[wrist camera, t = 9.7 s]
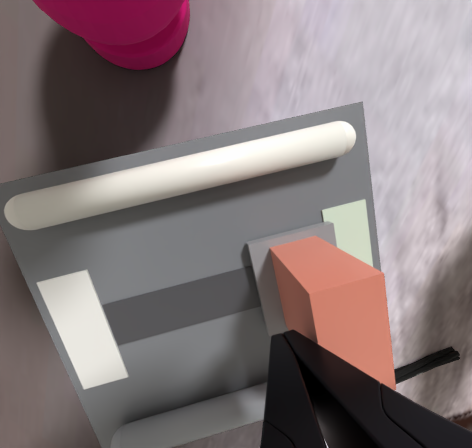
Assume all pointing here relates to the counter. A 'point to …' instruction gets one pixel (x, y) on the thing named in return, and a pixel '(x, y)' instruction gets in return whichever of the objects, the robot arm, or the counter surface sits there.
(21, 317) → the counter surface
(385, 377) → the lever
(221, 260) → the box
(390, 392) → the robot arm
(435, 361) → the black thin rod
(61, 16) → the pepper mill
